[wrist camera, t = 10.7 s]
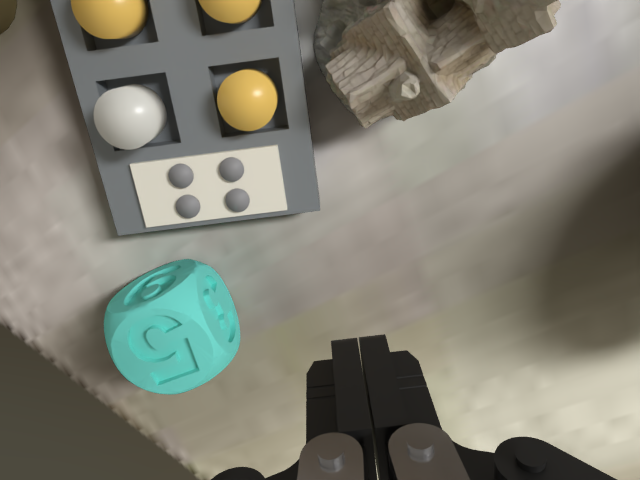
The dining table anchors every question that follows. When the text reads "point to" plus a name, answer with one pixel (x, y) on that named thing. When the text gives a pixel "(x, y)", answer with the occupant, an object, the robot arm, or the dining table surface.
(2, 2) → the olive rounded cylinder
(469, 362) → the dining table surface
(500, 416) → the dining table surface
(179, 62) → the button board
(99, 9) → the amber button
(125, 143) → the white button
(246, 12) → the amber button
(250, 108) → the amber button
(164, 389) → the decorative dice
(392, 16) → the ceramic cottage
